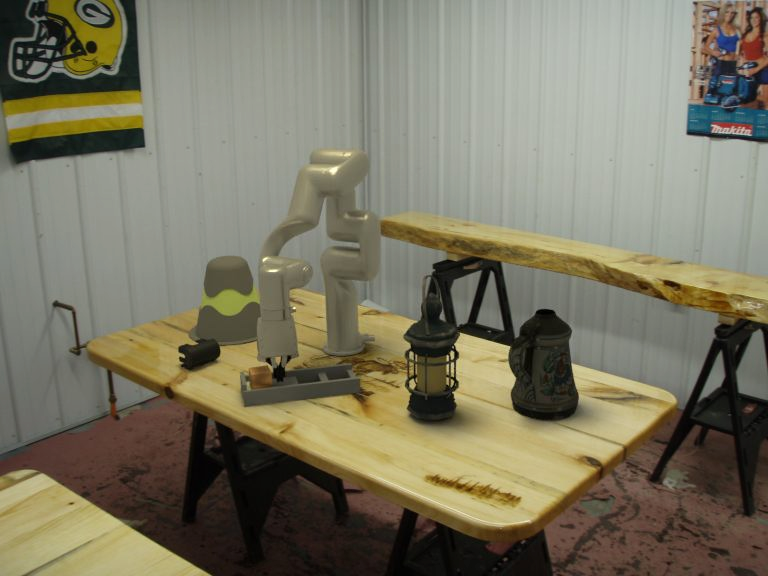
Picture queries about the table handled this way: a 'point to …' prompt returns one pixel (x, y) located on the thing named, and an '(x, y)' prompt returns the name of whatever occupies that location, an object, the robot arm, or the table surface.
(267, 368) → the orange block
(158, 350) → the table surface
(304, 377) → the tray
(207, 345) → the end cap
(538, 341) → the beer stein
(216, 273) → the grey bell cover
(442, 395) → the lantern
